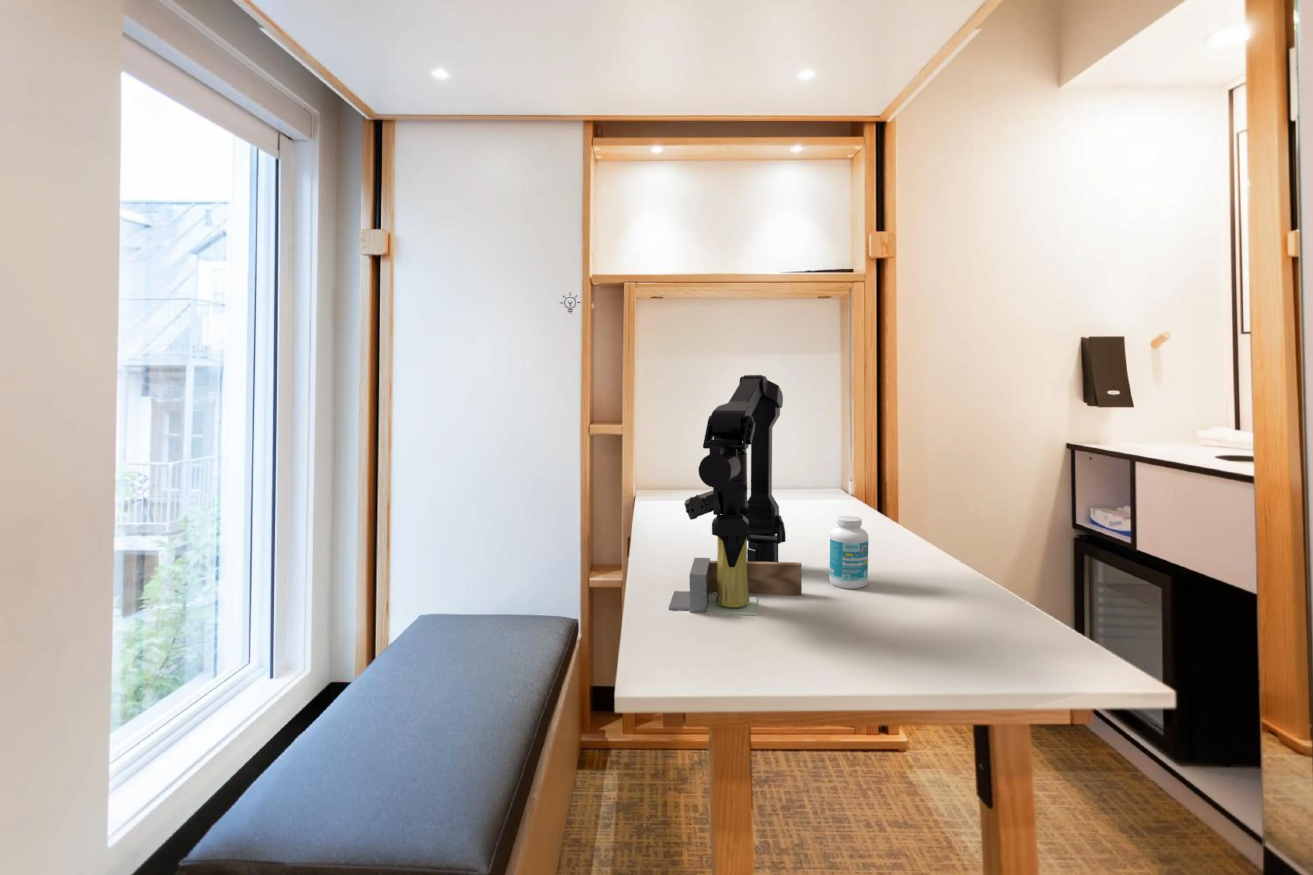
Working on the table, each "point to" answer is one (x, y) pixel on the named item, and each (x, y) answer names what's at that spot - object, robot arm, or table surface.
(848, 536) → the pill bottle
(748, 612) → the mat
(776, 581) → the back rail
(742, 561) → the vase
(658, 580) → the table surface
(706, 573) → the bookend
